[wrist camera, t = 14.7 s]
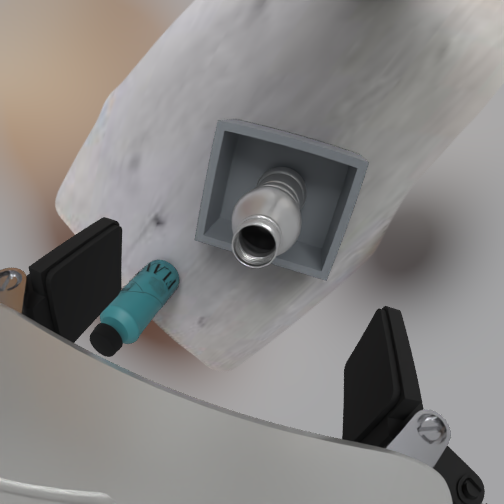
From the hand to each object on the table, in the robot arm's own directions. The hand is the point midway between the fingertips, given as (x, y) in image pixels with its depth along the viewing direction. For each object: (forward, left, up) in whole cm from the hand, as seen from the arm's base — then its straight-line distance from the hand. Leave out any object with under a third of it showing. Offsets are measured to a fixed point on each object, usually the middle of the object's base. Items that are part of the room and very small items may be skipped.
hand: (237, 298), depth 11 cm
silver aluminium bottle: (+4, -1, -33) cm, 33 cm away
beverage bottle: (+23, -16, -34) cm, 44 cm away
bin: (+4, -1, -34) cm, 34 cm away
